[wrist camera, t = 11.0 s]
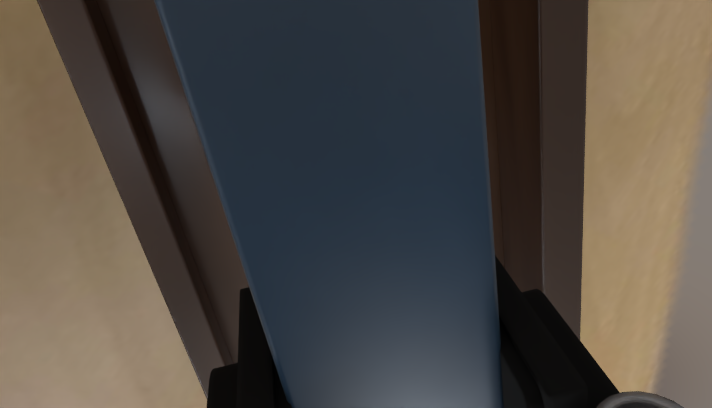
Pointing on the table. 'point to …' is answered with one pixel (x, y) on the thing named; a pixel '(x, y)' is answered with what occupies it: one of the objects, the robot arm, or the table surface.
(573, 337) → the robot arm
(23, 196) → the table surface
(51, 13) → the shelf rack
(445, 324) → the stick
